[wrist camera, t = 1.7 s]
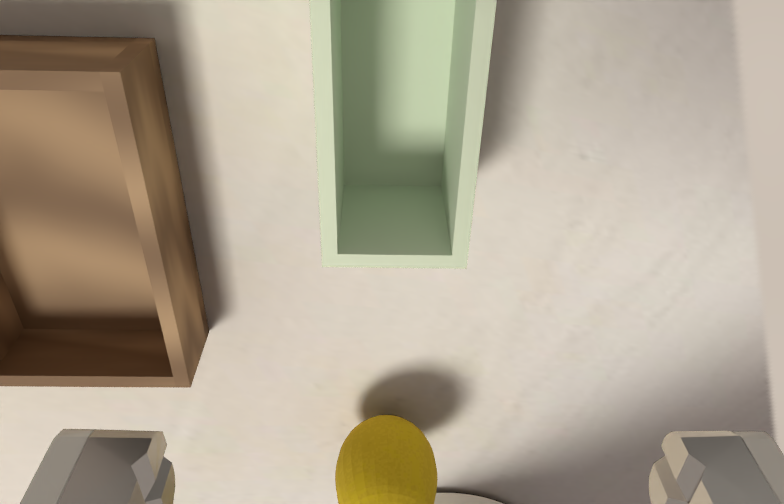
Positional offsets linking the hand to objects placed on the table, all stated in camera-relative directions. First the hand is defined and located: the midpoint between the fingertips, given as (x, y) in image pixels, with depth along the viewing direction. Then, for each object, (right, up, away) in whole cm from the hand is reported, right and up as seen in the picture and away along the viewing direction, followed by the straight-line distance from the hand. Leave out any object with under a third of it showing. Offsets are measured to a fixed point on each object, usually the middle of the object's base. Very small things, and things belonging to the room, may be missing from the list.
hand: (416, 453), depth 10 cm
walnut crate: (-15, +5, +19) cm, 25 cm away
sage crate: (0, +11, +16) cm, 19 cm away
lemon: (-1, -7, +28) cm, 28 cm away
